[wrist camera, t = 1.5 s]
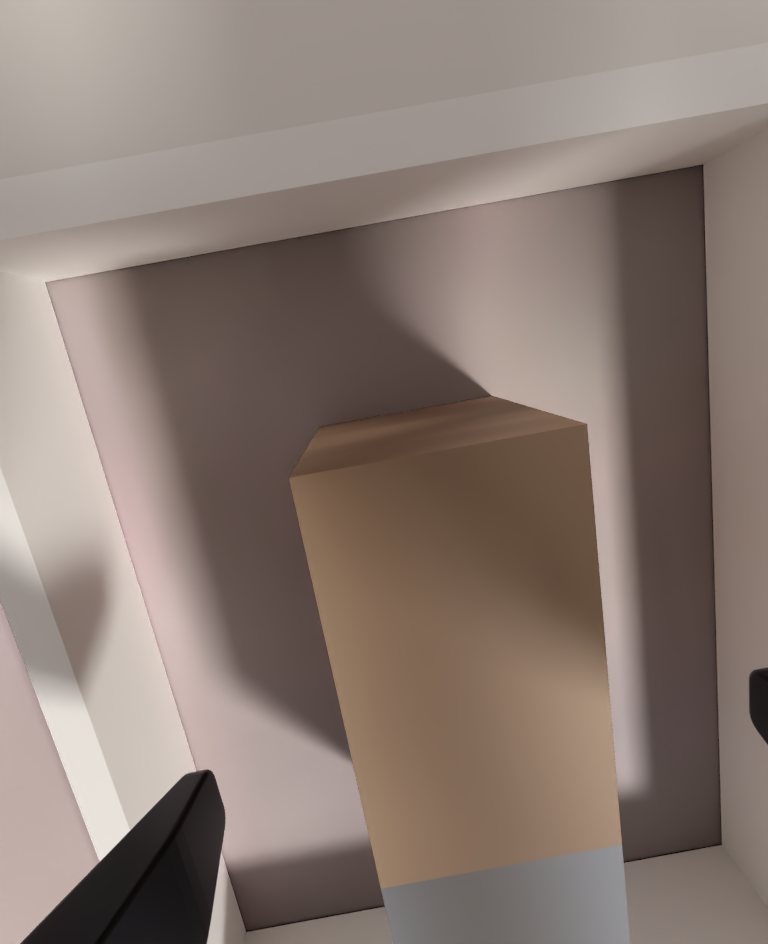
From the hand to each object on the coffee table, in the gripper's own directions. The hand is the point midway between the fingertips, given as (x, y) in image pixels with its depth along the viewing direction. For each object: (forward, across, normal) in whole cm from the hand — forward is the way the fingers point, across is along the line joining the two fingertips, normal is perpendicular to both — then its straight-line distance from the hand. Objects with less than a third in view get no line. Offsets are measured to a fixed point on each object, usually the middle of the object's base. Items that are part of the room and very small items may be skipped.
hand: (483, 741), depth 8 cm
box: (+4, 0, 0) cm, 5 cm away
